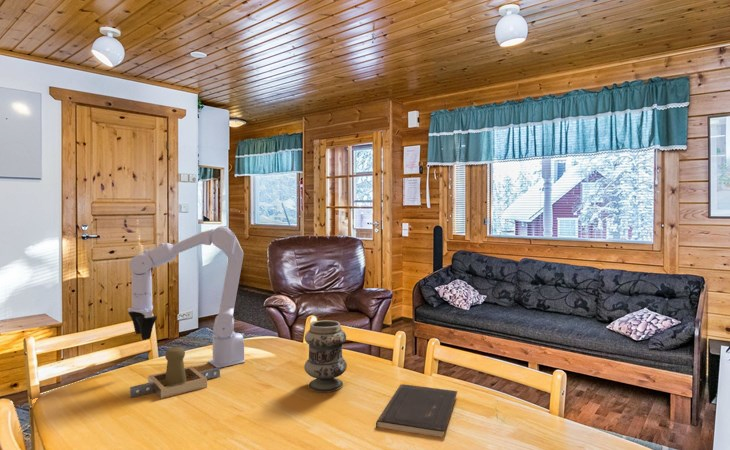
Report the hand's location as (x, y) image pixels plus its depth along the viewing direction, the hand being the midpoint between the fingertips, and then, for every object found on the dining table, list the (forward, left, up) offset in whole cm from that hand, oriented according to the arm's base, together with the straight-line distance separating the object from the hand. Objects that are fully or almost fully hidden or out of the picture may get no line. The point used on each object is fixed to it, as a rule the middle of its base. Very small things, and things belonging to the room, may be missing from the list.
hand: (142, 336), depth 146 cm
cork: (-4, +20, -11) cm, 23 cm away
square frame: (-4, +20, -10) cm, 23 cm away
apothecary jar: (-37, +46, -11) cm, 60 cm away
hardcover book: (-46, +74, -11) cm, 88 cm away
